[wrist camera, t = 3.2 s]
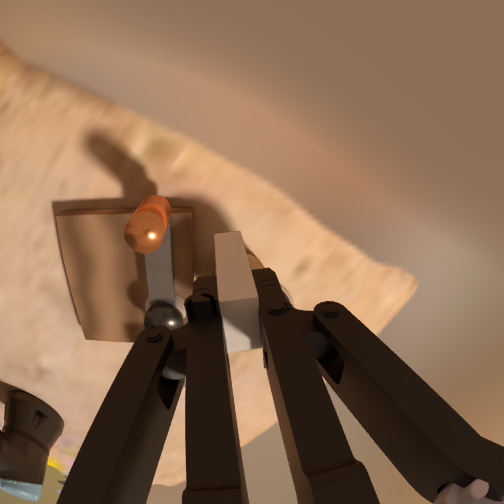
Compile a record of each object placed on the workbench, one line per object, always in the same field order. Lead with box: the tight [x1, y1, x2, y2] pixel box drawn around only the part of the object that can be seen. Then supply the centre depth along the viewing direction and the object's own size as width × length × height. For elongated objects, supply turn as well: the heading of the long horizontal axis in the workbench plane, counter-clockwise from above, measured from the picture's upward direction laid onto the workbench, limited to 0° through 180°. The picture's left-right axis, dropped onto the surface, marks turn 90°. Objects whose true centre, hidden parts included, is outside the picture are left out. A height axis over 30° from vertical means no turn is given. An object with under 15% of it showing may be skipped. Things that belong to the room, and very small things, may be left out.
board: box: [56, 207, 194, 343], centre depth 34 cm, size 16×18×2 cm
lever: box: [124, 195, 186, 387], centre depth 30 cm, size 23×5×8 cm, turn 176°
